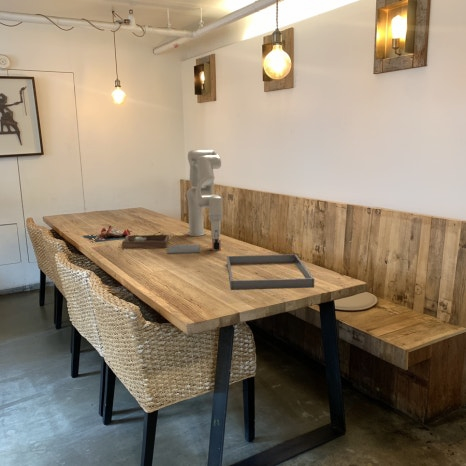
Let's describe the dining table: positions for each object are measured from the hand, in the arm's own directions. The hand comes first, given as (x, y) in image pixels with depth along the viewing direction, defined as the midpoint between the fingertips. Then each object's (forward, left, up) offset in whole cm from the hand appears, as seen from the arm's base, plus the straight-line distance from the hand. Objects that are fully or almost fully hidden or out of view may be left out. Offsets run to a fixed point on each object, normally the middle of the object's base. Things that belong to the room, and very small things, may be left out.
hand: (216, 247), depth 273 cm
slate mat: (0, -19, -1) cm, 19 cm away
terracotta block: (0, 0, -1) cm, 1 cm away
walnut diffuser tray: (-16, -43, -1) cm, 46 cm away
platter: (-44, -70, -2) cm, 82 cm away
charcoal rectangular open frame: (+55, +23, -1) cm, 60 cm away
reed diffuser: (-19, -41, -1) cm, 45 cm away
